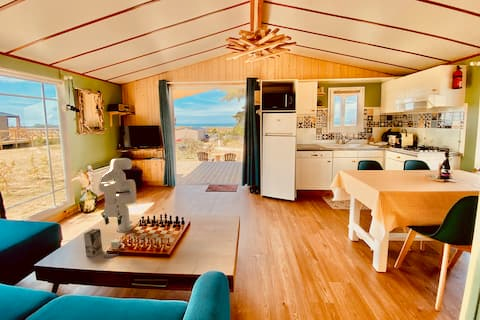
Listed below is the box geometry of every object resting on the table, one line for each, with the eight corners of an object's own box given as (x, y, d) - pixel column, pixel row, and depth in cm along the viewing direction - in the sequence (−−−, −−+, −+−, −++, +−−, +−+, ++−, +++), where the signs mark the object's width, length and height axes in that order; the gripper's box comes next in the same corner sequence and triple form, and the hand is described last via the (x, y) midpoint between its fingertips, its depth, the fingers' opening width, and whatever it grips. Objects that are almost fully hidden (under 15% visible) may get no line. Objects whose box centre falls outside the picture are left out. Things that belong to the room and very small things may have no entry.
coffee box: (94, 256, 188) (91, 234, 185) (85, 256, 189) (83, 233, 187) (103, 250, 196) (100, 229, 194) (95, 249, 198) (92, 228, 195)
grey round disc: (109, 251, 194) (109, 251, 194) (121, 252, 192) (120, 251, 192) (101, 258, 185) (101, 257, 185) (113, 258, 184) (113, 257, 183)
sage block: (115, 246, 202) (115, 239, 201) (122, 247, 201) (121, 239, 200) (111, 250, 197) (110, 242, 196) (118, 250, 196) (117, 242, 195)
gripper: (125, 199, 196) (127, 222, 198) (103, 199, 198) (105, 222, 201) (119, 202, 188) (121, 226, 191) (96, 202, 191) (99, 225, 193)
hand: (113, 224), depth 196 cm, fingers open, 9 cm apart
